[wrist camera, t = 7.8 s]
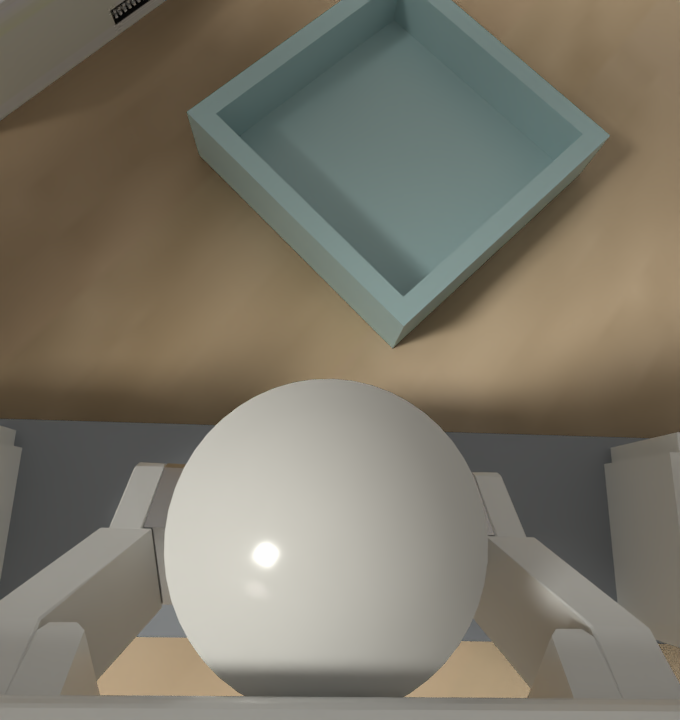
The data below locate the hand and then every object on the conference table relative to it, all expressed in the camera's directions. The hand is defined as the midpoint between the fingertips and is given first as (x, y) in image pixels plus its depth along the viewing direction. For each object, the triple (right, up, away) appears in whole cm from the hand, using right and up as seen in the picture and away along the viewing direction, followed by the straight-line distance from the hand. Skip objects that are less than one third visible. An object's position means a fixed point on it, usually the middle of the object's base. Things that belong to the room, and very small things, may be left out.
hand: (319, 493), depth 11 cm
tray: (+3, +11, +15) cm, 19 cm away
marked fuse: (0, -2, +6) cm, 6 cm away
